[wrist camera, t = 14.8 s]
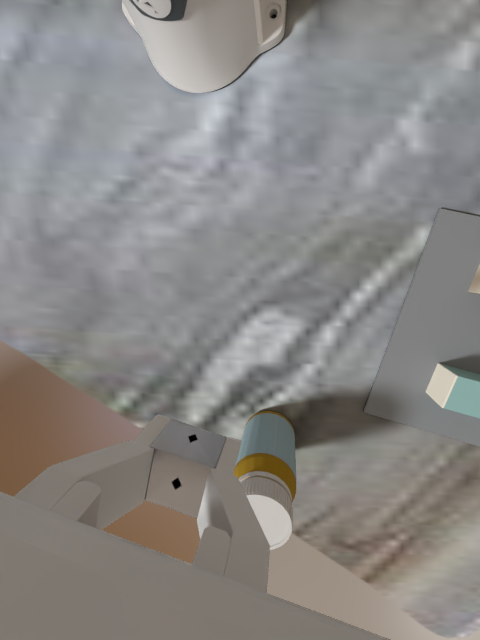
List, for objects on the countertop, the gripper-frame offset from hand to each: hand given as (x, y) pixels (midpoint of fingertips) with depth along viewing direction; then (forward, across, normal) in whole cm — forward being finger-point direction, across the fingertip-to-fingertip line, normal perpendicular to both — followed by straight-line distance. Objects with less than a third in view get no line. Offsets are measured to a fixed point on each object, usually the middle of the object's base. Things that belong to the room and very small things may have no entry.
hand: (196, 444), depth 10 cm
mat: (+29, -24, -3) cm, 38 cm away
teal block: (+27, -22, +3) cm, 35 cm away
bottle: (+29, -5, +17) cm, 34 cm away
